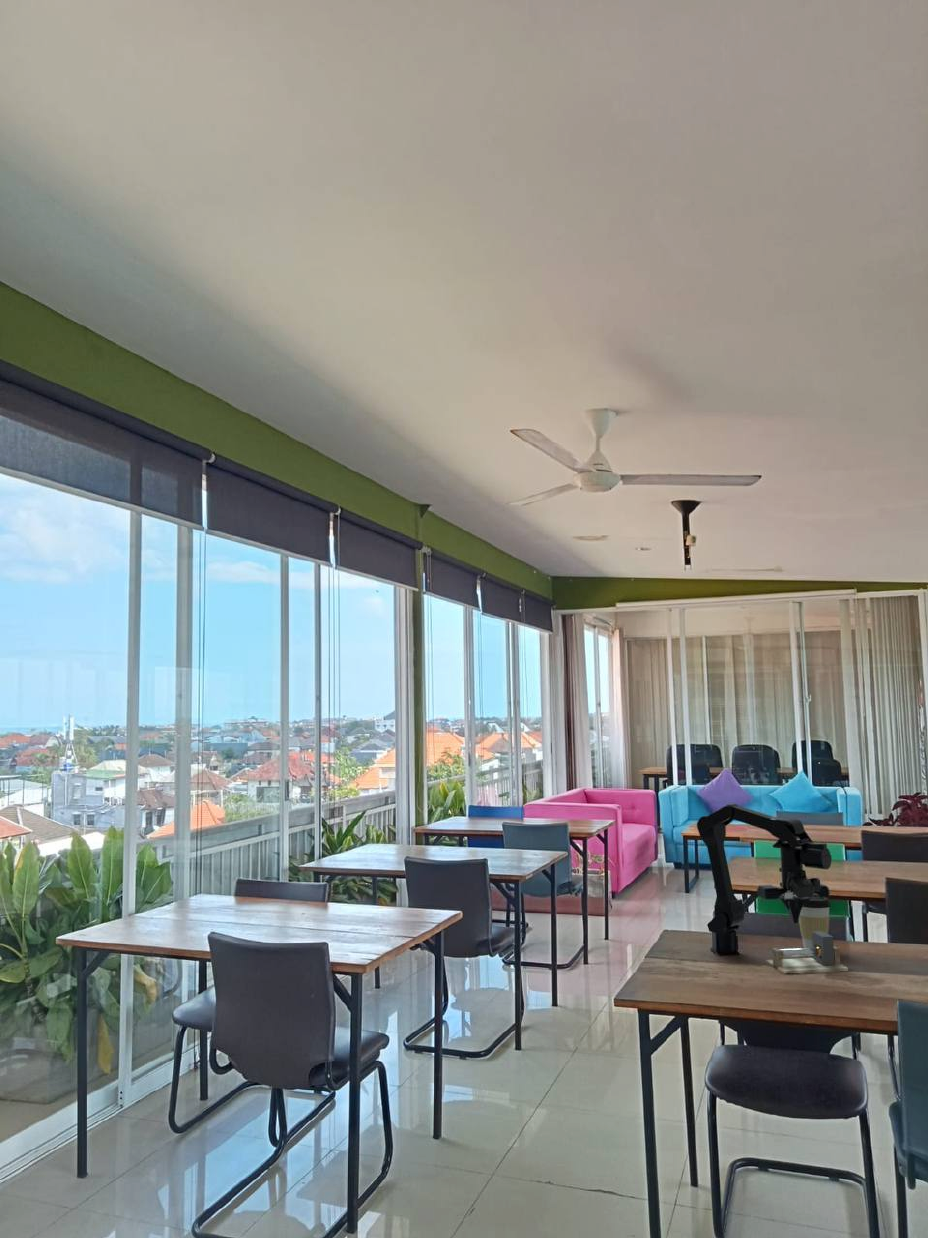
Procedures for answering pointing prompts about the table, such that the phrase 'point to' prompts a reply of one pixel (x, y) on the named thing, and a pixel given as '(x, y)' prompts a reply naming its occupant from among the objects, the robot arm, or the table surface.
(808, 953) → the rod
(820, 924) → the coffee cup
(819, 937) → the collar
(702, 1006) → the table surface
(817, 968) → the stand
